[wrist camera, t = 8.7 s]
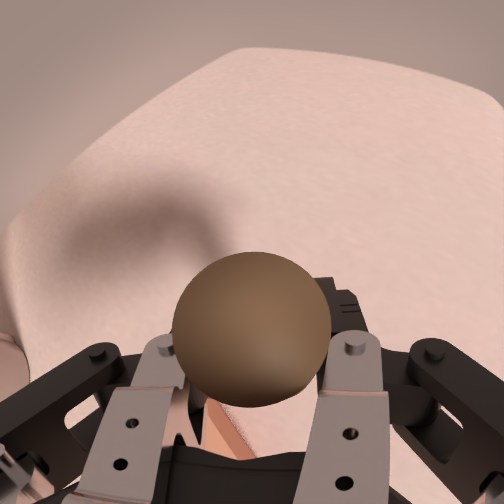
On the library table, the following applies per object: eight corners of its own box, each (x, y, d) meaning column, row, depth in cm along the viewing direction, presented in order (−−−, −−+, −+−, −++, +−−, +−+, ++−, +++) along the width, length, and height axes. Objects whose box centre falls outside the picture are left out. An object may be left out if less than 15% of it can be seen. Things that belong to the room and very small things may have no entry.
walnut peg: (239, 361, 15) (147, 307, 6) (289, 326, 16) (268, 225, 7) (274, 410, 14) (225, 437, 5) (325, 374, 14) (364, 341, 5)
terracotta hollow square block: (146, 437, 24) (117, 442, 20) (215, 398, 25) (197, 398, 21) (191, 507, 21) (170, 525, 16) (266, 472, 22) (258, 487, 17)
